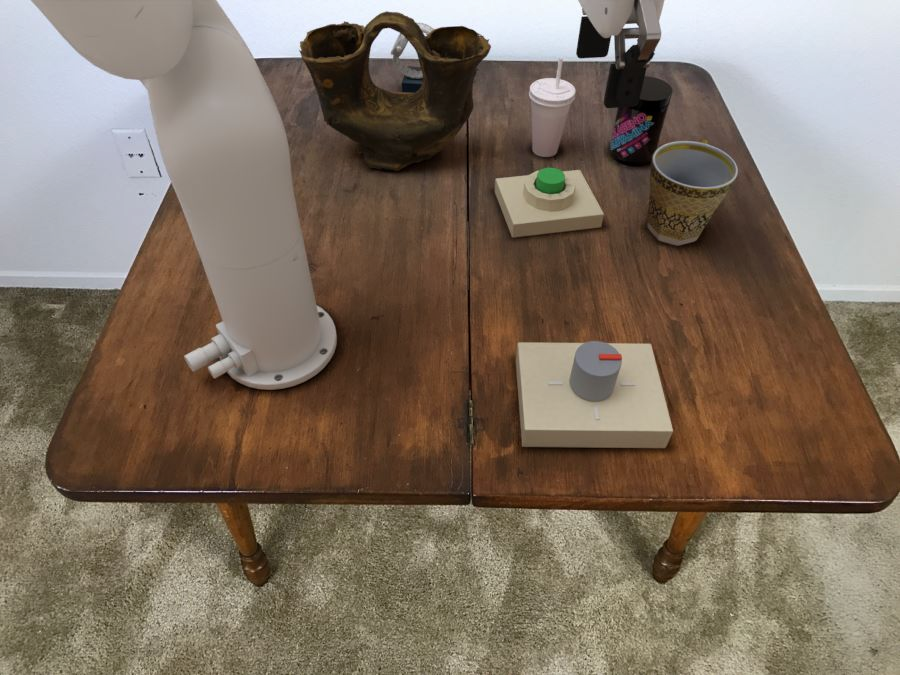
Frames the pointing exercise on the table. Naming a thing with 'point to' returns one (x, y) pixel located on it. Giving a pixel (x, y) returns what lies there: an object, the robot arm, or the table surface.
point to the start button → (550, 181)
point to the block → (547, 205)
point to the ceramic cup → (687, 189)
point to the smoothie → (549, 112)
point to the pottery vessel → (387, 112)
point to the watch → (411, 74)
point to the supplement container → (641, 124)
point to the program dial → (595, 370)
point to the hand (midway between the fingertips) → (605, 80)
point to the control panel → (590, 422)
